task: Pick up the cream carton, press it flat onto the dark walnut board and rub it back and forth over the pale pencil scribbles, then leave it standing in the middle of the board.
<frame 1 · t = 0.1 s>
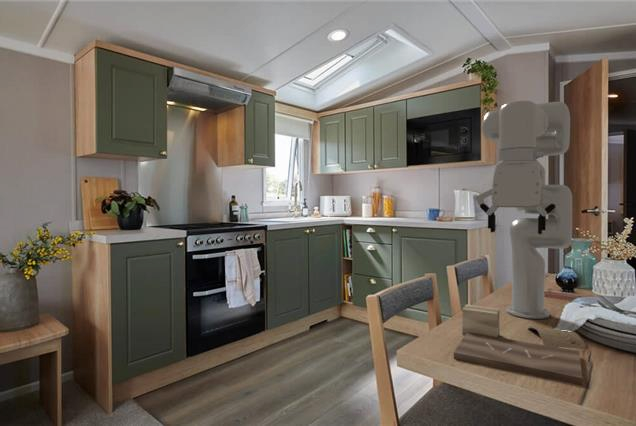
hand: (515, 232, 89), 31 cm above the table, fingers open, 9 cm apart
cream carton: (480, 334, 110), on the table
clay tablet: (555, 341, 107), on the table
walnut board: (516, 357, 95), on the table
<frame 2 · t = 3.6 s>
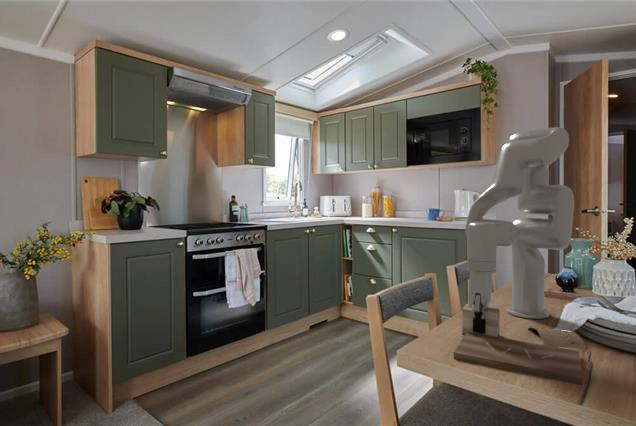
hand: (480, 328, 110), 2 cm above the table, fingers closed on cream carton, 5 cm apart
cream carton: (480, 334, 110), on the table, touching gripper
everything else where it was.
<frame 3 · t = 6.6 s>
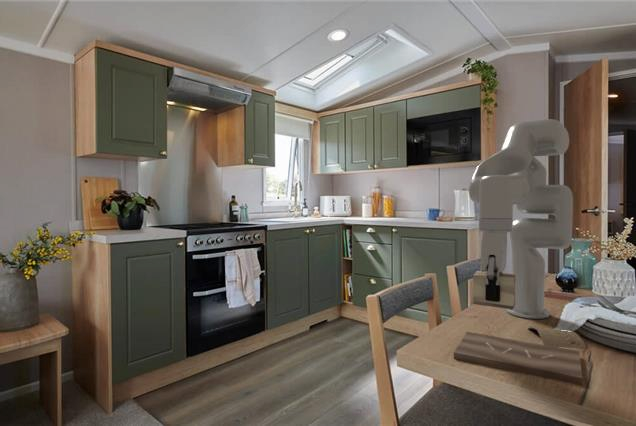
hand: (494, 297, 96), 14 cm above the table, fingers closed on cream carton, 5 cm apart
cream carton: (494, 304, 96), point 13 cm above the table, touching gripper
everything else where it was.
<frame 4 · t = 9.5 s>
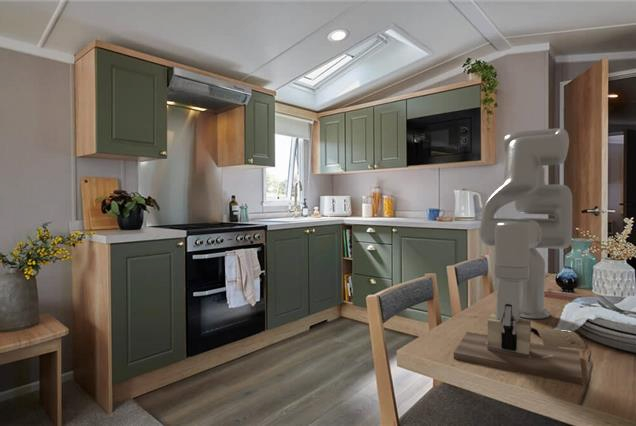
hand: (510, 344, 95), 3 cm above the table, fingers closed on cream carton, 5 cm apart
cream carton: (508, 350, 95), point 2 cm above the table, touching gripper
everything else where it was.
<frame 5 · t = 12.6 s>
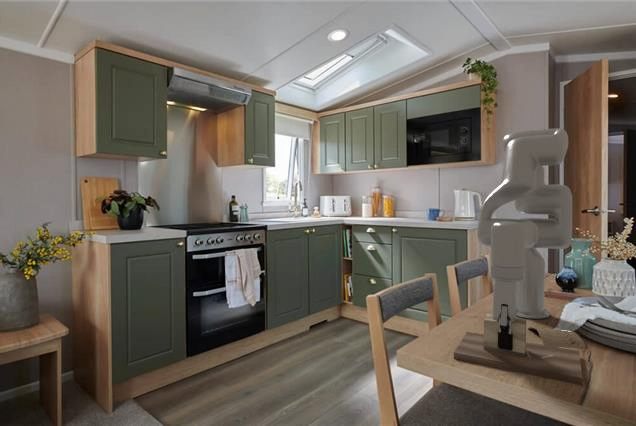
hand: (506, 344, 96), 3 cm above the table, fingers closed on cream carton, 5 cm apart
cream carton: (504, 349, 96), point 2 cm above the table, touching gripper
everything else where it was.
when the fingers open (4 cm above the table, at t = 15.4 s): cream carton drops 1 cm, resting on walnut board.
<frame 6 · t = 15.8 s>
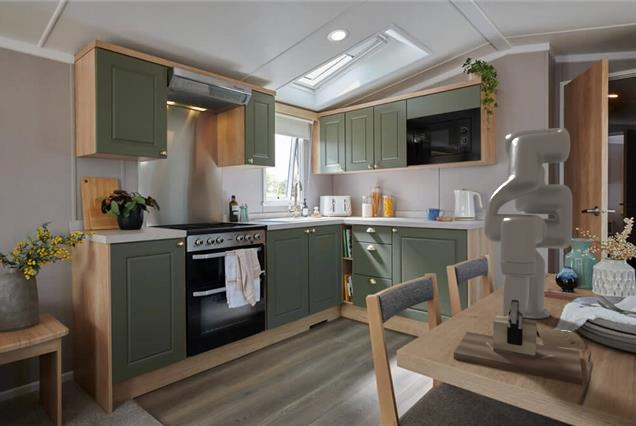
hand: (516, 337, 94), 5 cm above the table, fingers open, 9 cm apart
cream carton: (514, 351, 95), point 2 cm above the table, touching walnut board
everything else where it was.
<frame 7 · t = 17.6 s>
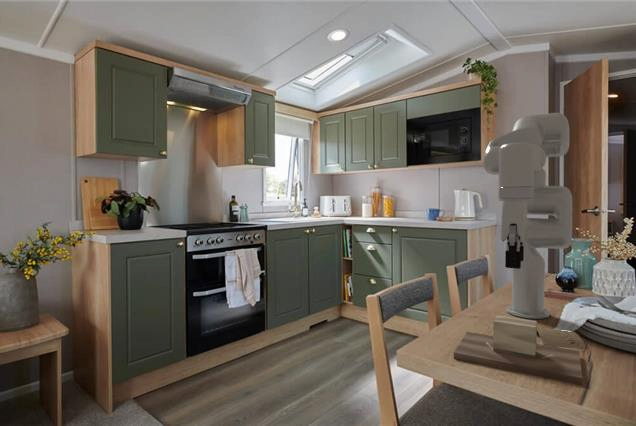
hand: (514, 264, 95), 23 cm above the table, fingers open, 9 cm apart
nothing on the table moved.
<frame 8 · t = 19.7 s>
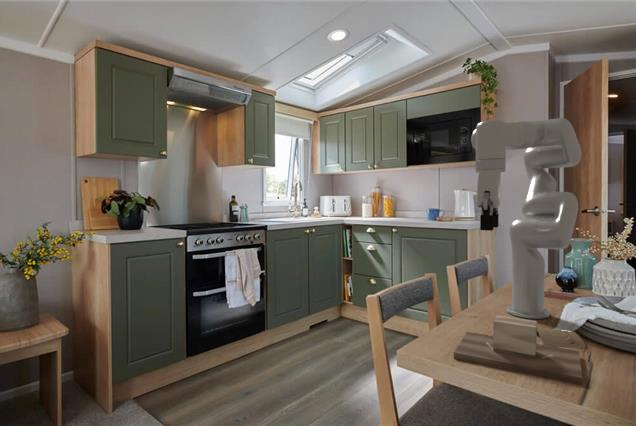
hand: (489, 228, 107), 30 cm above the table, fingers open, 9 cm apart
nothing on the table moved.
at the end: cream carton inside the target area on the walnut board (0.4 cm from its centre), point 1.5 cm above the walnut board's base; cream carton tilted 0°; the gripper is holding nothing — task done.
